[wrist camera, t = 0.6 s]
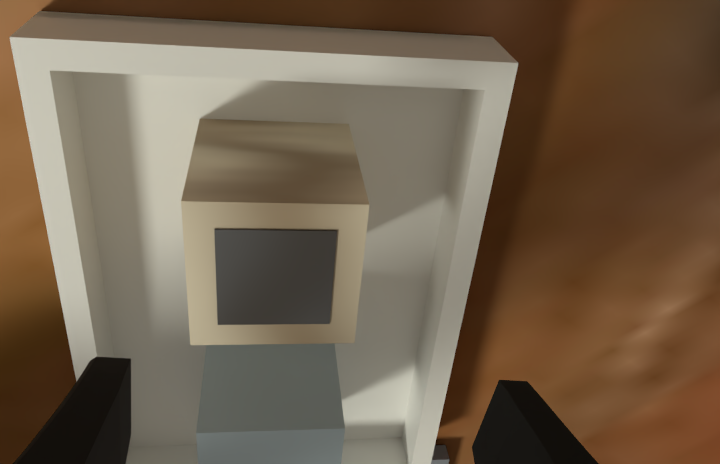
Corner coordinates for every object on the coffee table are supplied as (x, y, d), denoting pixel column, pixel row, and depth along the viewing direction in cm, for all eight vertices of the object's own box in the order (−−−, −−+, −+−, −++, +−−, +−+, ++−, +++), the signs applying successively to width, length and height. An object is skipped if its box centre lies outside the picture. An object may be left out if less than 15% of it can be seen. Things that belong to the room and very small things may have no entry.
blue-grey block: (212, 411, 26) (202, 524, 22) (209, 324, 24) (196, 432, 20) (325, 408, 27) (335, 517, 23) (332, 323, 25) (345, 428, 20)
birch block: (205, 243, 22) (190, 346, 18) (199, 118, 20) (180, 202, 15) (338, 245, 23) (354, 344, 18) (348, 124, 20) (369, 205, 16)
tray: (414, 438, 29) (425, 486, 27) (112, 448, 28) (99, 501, 26) (492, 36, 20) (518, 63, 18) (39, 11, 18) (9, 36, 16)
